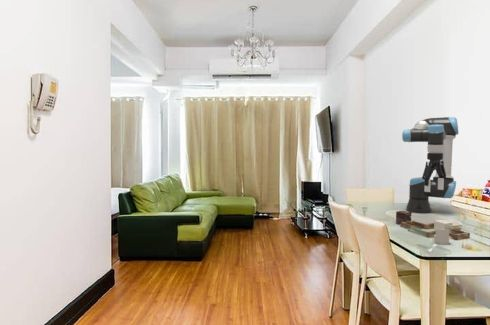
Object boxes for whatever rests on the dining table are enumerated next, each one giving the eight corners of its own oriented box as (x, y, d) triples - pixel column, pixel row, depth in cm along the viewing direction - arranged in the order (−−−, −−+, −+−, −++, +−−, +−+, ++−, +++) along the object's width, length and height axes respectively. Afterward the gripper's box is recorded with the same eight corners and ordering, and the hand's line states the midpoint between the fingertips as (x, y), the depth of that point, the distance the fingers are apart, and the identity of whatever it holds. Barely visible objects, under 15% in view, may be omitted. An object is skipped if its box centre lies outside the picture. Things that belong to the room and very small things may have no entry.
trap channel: (427, 223, 185) (427, 219, 185) (476, 236, 159) (476, 232, 158) (396, 227, 178) (396, 222, 178) (442, 242, 151) (442, 237, 151)
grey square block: (433, 242, 153) (433, 227, 152) (449, 243, 151) (449, 228, 150) (434, 244, 150) (435, 229, 149) (451, 245, 147) (452, 230, 147)
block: (442, 228, 174) (442, 219, 174) (452, 231, 168) (452, 222, 168) (434, 229, 172) (434, 220, 172) (444, 232, 166) (444, 223, 166)
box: (404, 225, 180) (405, 213, 180) (395, 223, 186) (395, 211, 185) (411, 224, 183) (411, 212, 183) (402, 222, 188) (402, 210, 188)
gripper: (440, 151, 183) (439, 187, 185) (415, 153, 170) (414, 191, 172) (454, 152, 177) (452, 189, 178) (429, 153, 164) (428, 193, 165)
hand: (434, 190), depth 175 cm, fingers open, 13 cm apart
